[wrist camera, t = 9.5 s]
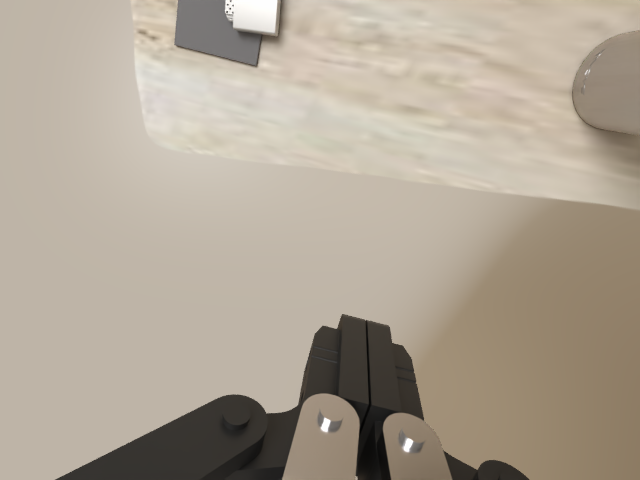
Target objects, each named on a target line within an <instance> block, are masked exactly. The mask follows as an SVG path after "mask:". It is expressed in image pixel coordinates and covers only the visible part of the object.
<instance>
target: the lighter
mask: <svg viewBox="0 0 640 480" xmlns="http://www.w3.org/2000/svg"><path fill="white" fill-rule="evenodd" d="M280 5H281V0H226V1H225V14H226V16H227V19H228V21H230V22H233V29H234V30H236V31H241V32H249V33H256V34H263V35H270V36H278V30H279V18H280Z"/></svg>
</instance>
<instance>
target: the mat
mask: <svg viewBox="0 0 640 480" xmlns="http://www.w3.org/2000/svg"><path fill="white" fill-rule="evenodd" d="M225 1H226V0H178V9H177V21H176V32H175V44H174V45H177V46H181V47H185V48H189V49H193V50H197V51H201V52H205V53H209V54H212V55H216V56H220V57H224V58H228V59H232V60H236V61H240V62H244V63H247V64H251V65H255V66H257V61H258V55H259V49H260V43H261V37H262V34H256V33H249V32H241V31H236V30H234V29H233V22H230V21H228V19H227V16H226V14H225Z"/></svg>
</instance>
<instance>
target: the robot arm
mask: <svg viewBox="0 0 640 480" xmlns="http://www.w3.org/2000/svg"><path fill="white" fill-rule="evenodd" d="M573 102H574V105H575V108H576V111H577V112H578V114H579V116H580V117H581V118H582V119H583V120H584V121H585V122H586V123H587V124H589V125H591V126H593V127H595V128H599V129H603V130H609V131H615V132H622V133H627V134H633V135H639V136H640V30H638V31H634V32H629V33H624V34H620V35H617V36H615V37H612V38H610V39H608V40H606V41H605V42H603V43H602V44H600V45H599V46H598V47H596V48H595V49H594V50H593V51H592V52H591V53H590V54H589V55H588V56H587V58H586V59H585V60H584V61H583V63H582V65H581V67H580V68H579V70H578V72H577V75H576V78H575V81H574V86H573ZM355 476H358V480H529V479H528V478H527V477H526V476H525V475H524V474H522V473H521V472H520V471H518V470H517V469H516V468H514V467H512V466H511V465H508V464H506V463H504V462H501V461H496V460H489V461H485V462H484V463H482V464H481V465H480V467H479V469H478V470H476V469H474V468H473V467H471V466H469V465H467V464H465V463H463V462H461V461H460V460H458V459H456V458H454V457H452V456H451V455H449V454H448V453H446V452H445V451H444V450H443V448H442V445H441V442H440V440H439V438H438V436H437V434H436V433H435V431H434V430H433V429H432V428H431V427H430V426H429V425H428V424H427V423H426V422H424V417H423V412H422V407H421V403H420V398H419V393H418V388H417V384H416V378H415V374H414V369H413V364H412V359H411V357H410V356H409V354H408V353H407V351H406V350H405V348H404V347H403V346H402V345H398V344H394V343H392V339H391V332H390V327H389V326H388V325H384V324H380V323H376V322H372V321H368V320H366V321H365V320H364V319H360V318H356V317H352V316H348V315H344V314H342V316H341V318H340V322H339V325H338V328H337V329H334V328H330V327H326V326H322V327H321V328H320V329H319V330H318V331H317V332H316V333H315V336H314V339H313V343H312V346H311V350H310V353H309V357H308V361H307V364H306V368H305V371H304V377H303V382H302V387H301V392H300V398H299V404H298V406H297V407H295V408H293V409H292V410H289V411H287V412H282V413H269V414H266V412H265V410H264V408H263V407H262V406H261V405H260V404H259V403H258V402H257V401H255V400H253V399H252V398H249V397H247V396H243V395H226V396H222V397H220V398H218V399H215V400H213V401H211V402H209V403H208V404H205V405H203V406H201V407H200V408H198V409H196V410H194V411H192V412H190V413H187V414H186V415H184V416H182V417H180V418H178V419H176V420H174V421H172V422H170V423H168V424H166V425H164V426H162V427H160V428H158V429H156V430H154V431H152V432H150V433H148V434H146V435H144V436H142V437H140V438H138V439H136V440H134V441H132V442H130V443H128V444H126V445H124V446H122V447H120V448H118V449H116V450H114V451H112V452H110V453H108V454H106V455H104V456H102V457H100V458H98V459H96V460H94V461H92V462H90V463H88V464H86V465H84V466H82V467H80V468H78V469H76V470H74V471H72V472H70V473H68V474H66V475H64V476H62V477H60V478H58V479H56V480H355Z"/></svg>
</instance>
